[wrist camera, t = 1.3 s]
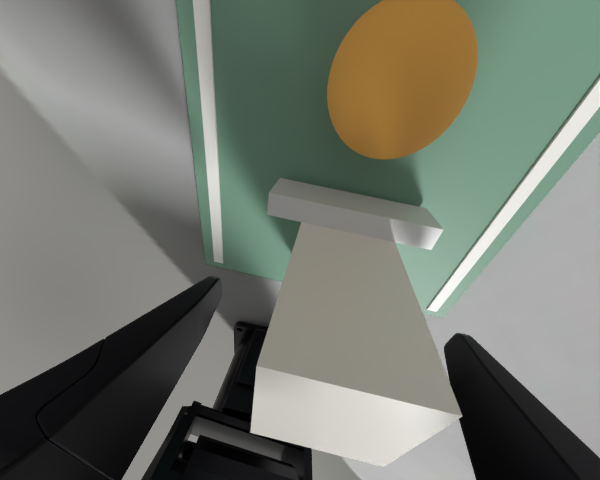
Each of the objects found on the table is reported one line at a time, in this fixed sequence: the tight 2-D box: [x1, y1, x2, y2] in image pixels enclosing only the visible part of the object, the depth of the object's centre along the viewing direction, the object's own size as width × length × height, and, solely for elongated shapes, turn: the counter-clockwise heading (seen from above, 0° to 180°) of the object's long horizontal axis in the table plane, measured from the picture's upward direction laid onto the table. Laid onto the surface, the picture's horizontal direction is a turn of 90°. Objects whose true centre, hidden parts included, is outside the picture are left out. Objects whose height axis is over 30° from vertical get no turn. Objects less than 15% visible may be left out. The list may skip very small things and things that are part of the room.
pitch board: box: [176, 0, 600, 318], centre depth 8 cm, size 24×16×1 cm, turn 171°
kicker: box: [250, 178, 462, 467], centre depth 8 cm, size 5×7×8 cm
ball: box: [327, 0, 478, 159], centre depth 7 cm, size 4×4×4 cm
